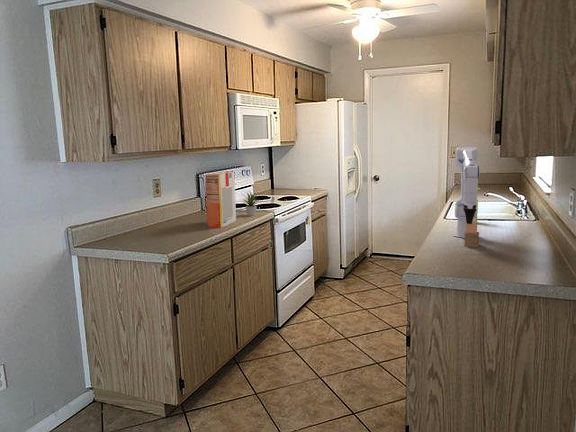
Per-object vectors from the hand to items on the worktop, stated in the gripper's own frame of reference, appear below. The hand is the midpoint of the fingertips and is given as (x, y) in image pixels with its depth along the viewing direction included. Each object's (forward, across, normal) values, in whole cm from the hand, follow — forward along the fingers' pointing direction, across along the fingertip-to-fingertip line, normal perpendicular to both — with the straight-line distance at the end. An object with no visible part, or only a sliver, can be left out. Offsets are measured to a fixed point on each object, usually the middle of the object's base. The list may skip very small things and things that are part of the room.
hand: (469, 222), depth 220 cm
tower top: (+8, +1, +1) cm, 8 cm away
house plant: (+11, -50, -130) cm, 140 cm away
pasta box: (+11, -18, -136) cm, 138 cm away
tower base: (+11, +1, +1) cm, 11 cm away
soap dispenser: (+11, -58, +2) cm, 59 cm away
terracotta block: (+5, +1, +1) cm, 5 cm away
